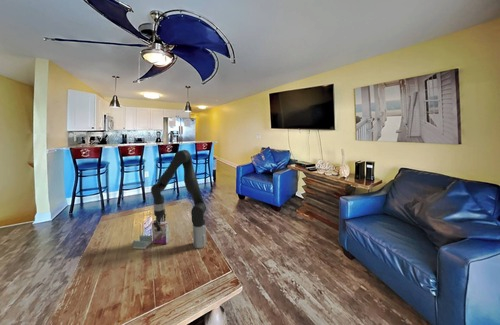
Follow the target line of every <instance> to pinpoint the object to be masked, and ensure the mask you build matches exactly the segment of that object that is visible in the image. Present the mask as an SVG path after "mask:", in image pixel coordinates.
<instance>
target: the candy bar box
mask: <svg viewBox="0 0 500 325" xmlns="http://www.w3.org/2000/svg"><path fill="white" fill-rule="evenodd" d="M158 223H159V222H158ZM158 225H159V224H158ZM169 226H170V225H169V221H164V222H161V224H160V231H157V227H155V226H154V222H152V223H151V228H152V229H151V231H152V232H151V233H152V243H153V244H161V245H167V244H168V243H169V242H170V227H169Z"/></svg>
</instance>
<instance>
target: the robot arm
mask: <svg viewBox="0 0 500 325" xmlns="http://www.w3.org/2000/svg"><path fill="white" fill-rule="evenodd" d="M181 165H182V166H183V167H182V168H183V182H184V186H185V189H186V190H187V192H188V194H189V195H190V196H191V197H192V200H193V203H194V206H193V207H192V208H191V212H190V213H191V215H190V216H191V223H192V235H193V236H192V244H193V246H192V247H193V248H195V249H202V248H203V249H204V248H206V247H205V246H206V245H207V232H206V219H205V218H204V217H205V216H204V215H205V213H206V211H207V206H206V203H205V201H204V198H203V196H202V192H201V188H200V186H199V182H198V179H197V175H196V172H195V169H194V165H193V159H192V155H191V153H190V151H188V150H186V149H183V150H178V151H176V152H175V154H174V156H173V158H172V160H171V161H170V163H169V165H168V166H167V168H166V170H164V172H163V173H162V175H161V176H160V177H159V179H158V180H159V181H158V182H157V183H155V184H153V185H152V186H151V189H150V191H151V195H152V199H153V213H154V214H153V215H154V216H155V220H153V222H152V223H154V226H155V227H157V231H160V224H161V222H166V219H167V218H166V216H167V214H166V209H165V208H166V206H165V197H164V195H163V194H161V193H162V192H163V191H164V190H165V189H166V188H167V187H168V184H169V183H170V181H171V180H172V178H174V176H175V174H176V171H177V170H178V169H179V167H180V166H181ZM158 222H159V223H158ZM158 224H159V225H158Z"/></svg>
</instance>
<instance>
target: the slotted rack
mask: <svg viewBox="0 0 500 325" xmlns="http://www.w3.org/2000/svg"><path fill="white" fill-rule="evenodd" d="M152 243H153V235H143V234H140V235H139V240H133V241H132V249H138V250H140V249H141V250H146V248H148V247H149V246H150V245H151V244H152Z"/></svg>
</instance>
